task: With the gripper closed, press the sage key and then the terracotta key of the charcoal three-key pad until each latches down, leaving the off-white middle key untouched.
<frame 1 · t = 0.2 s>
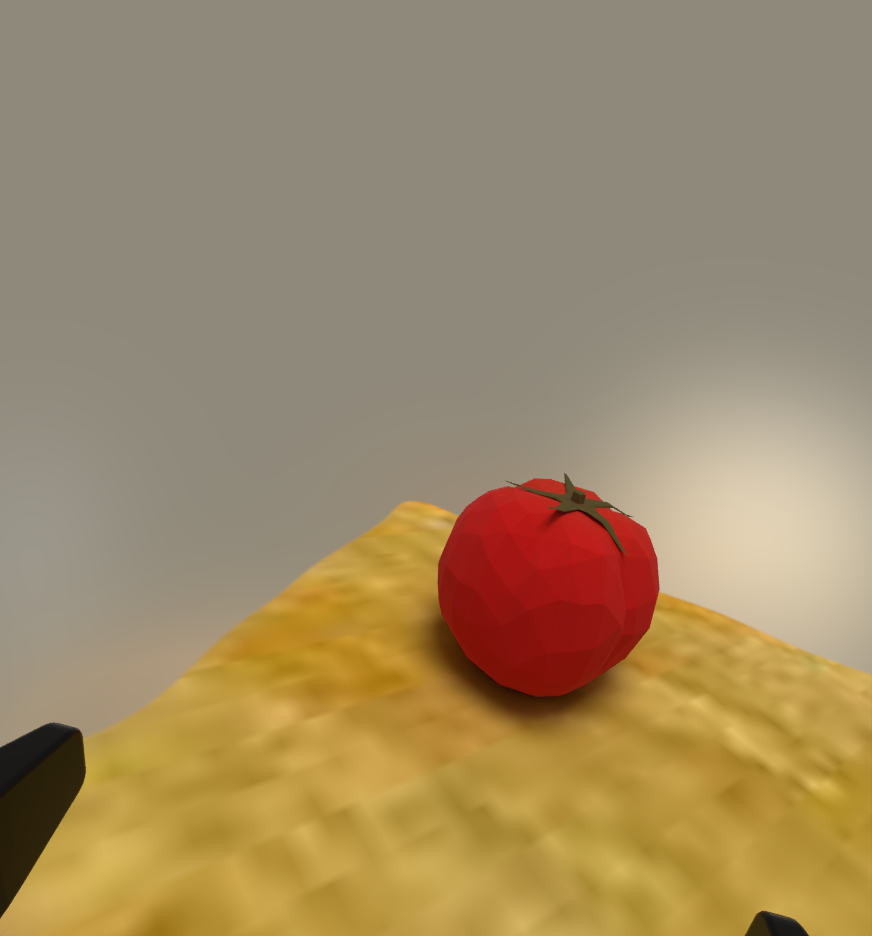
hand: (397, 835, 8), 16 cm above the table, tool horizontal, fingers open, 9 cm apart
tomato: (523, 657, 37), on the table
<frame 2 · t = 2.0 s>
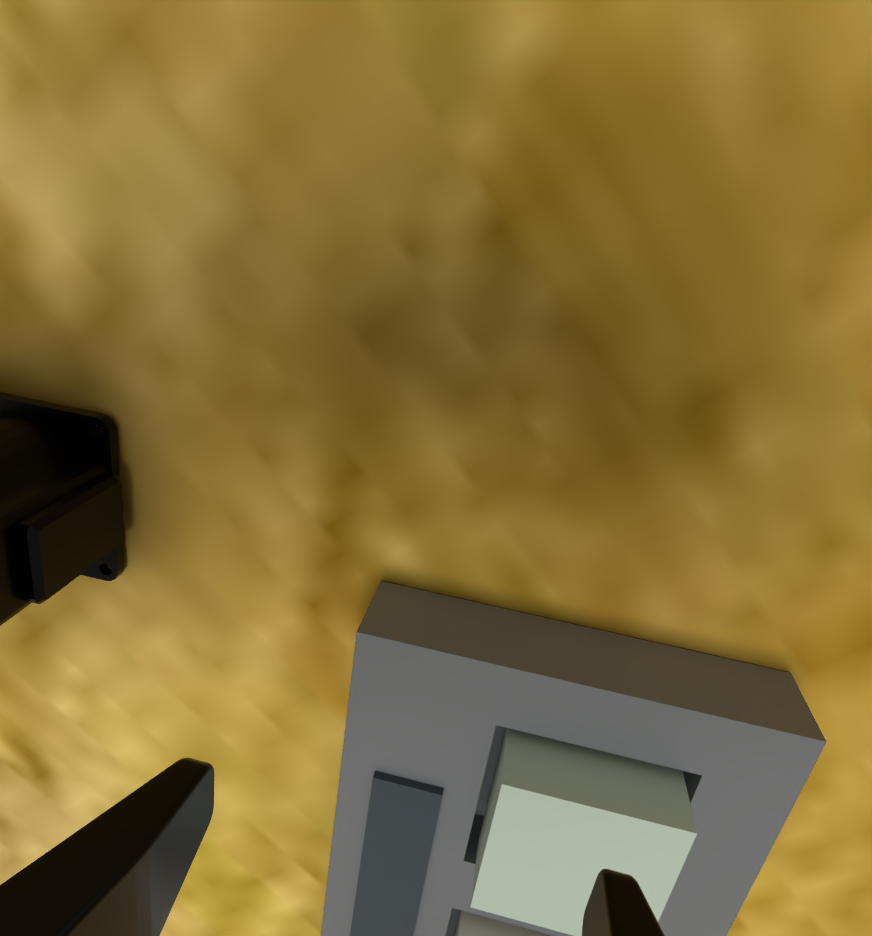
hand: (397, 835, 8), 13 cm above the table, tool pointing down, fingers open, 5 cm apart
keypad: (500, 899, 27), on the table
key sage: (574, 837, 20), point 4 cm above the table, slide at 0.0 cm
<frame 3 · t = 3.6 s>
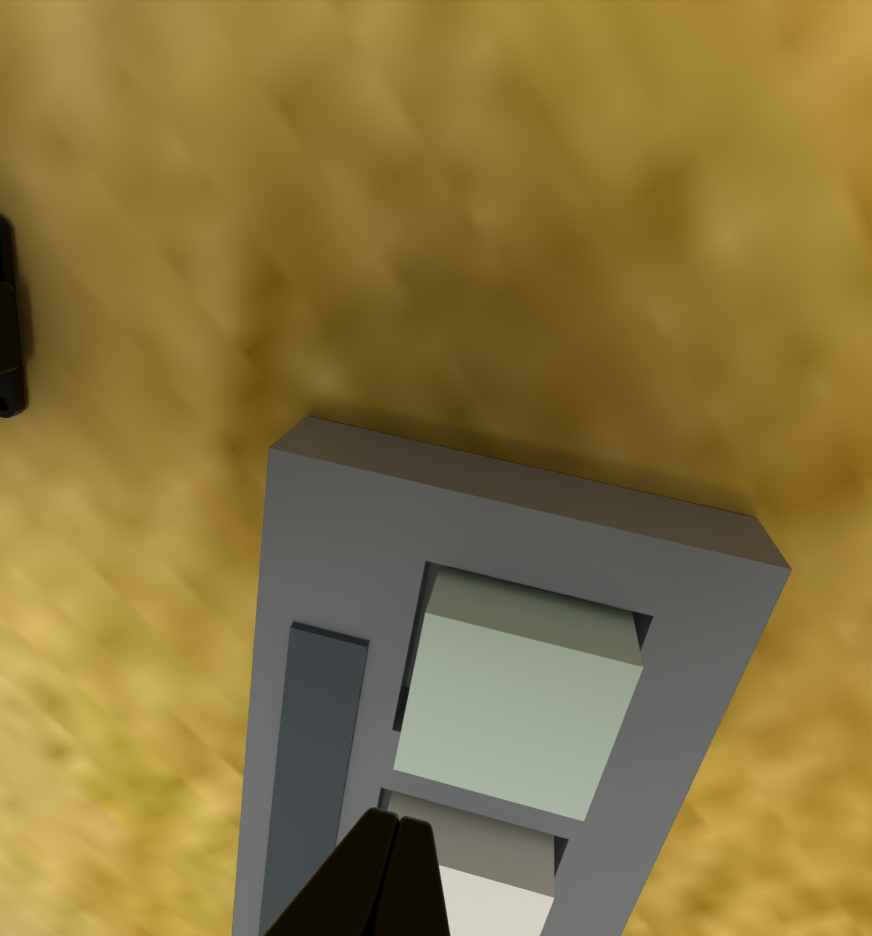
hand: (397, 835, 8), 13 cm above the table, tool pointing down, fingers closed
key offwhite: (453, 892, 22), point 4 cm above the table, slide at 0.0 cm
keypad: (441, 796, 25), on the table
key sage: (511, 691, 18), point 4 cm above the table, slide at 0.0 cm
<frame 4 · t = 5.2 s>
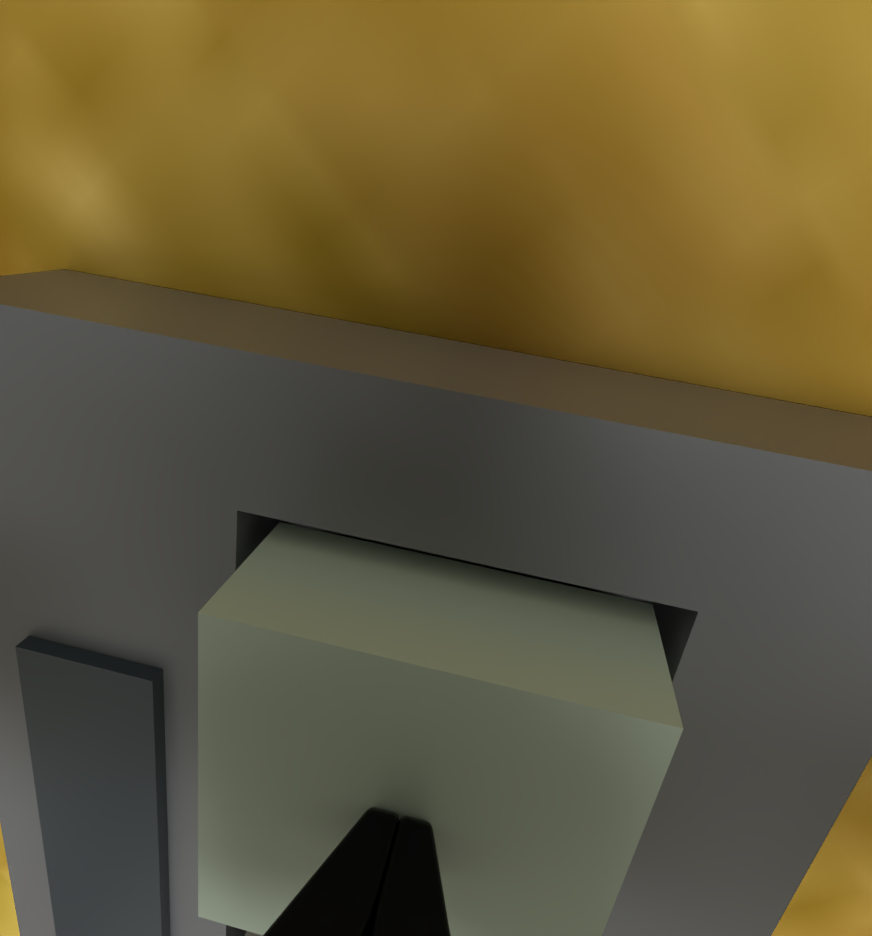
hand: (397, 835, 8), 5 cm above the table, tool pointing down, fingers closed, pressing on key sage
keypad: (361, 900, 16), on the table
key sage: (418, 765, 9), point 4 cm above the table, slide at 0.0 cm, touching gripper
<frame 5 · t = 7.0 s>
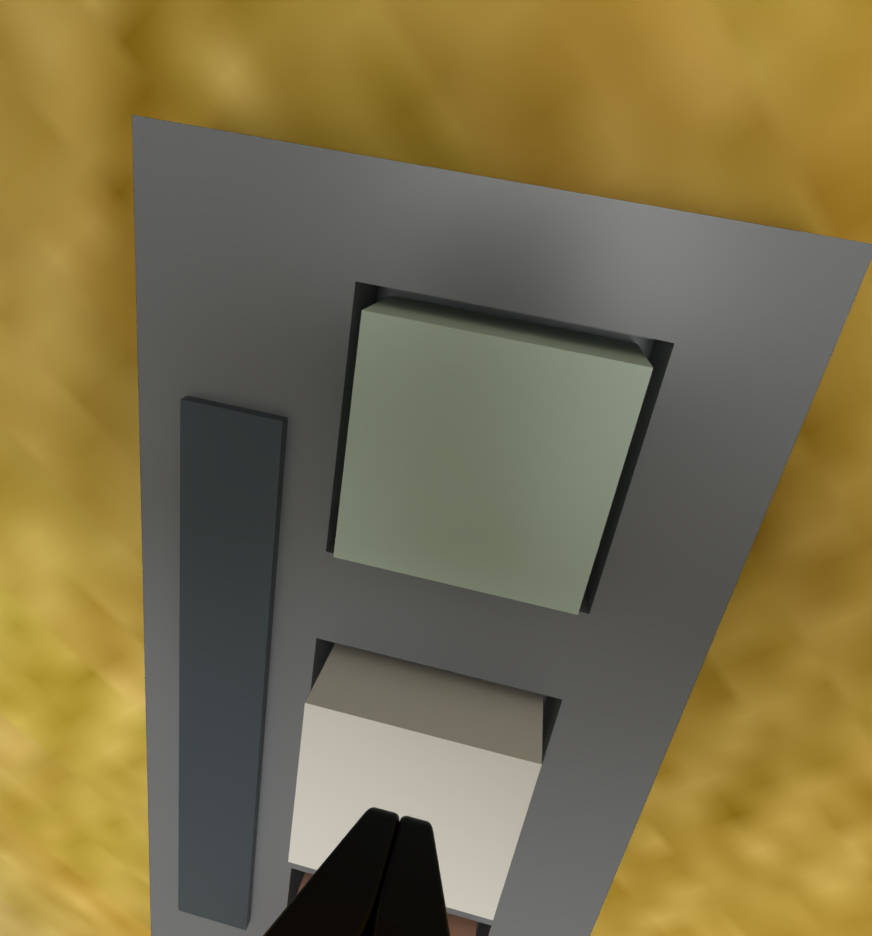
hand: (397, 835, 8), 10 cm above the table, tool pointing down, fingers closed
key offwhite: (413, 777, 17), point 4 cm above the table, slide at 0.0 cm
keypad: (405, 677, 20), on the table
key sage: (482, 452, 14), point 3 cm above the table, slide at 1.0 cm
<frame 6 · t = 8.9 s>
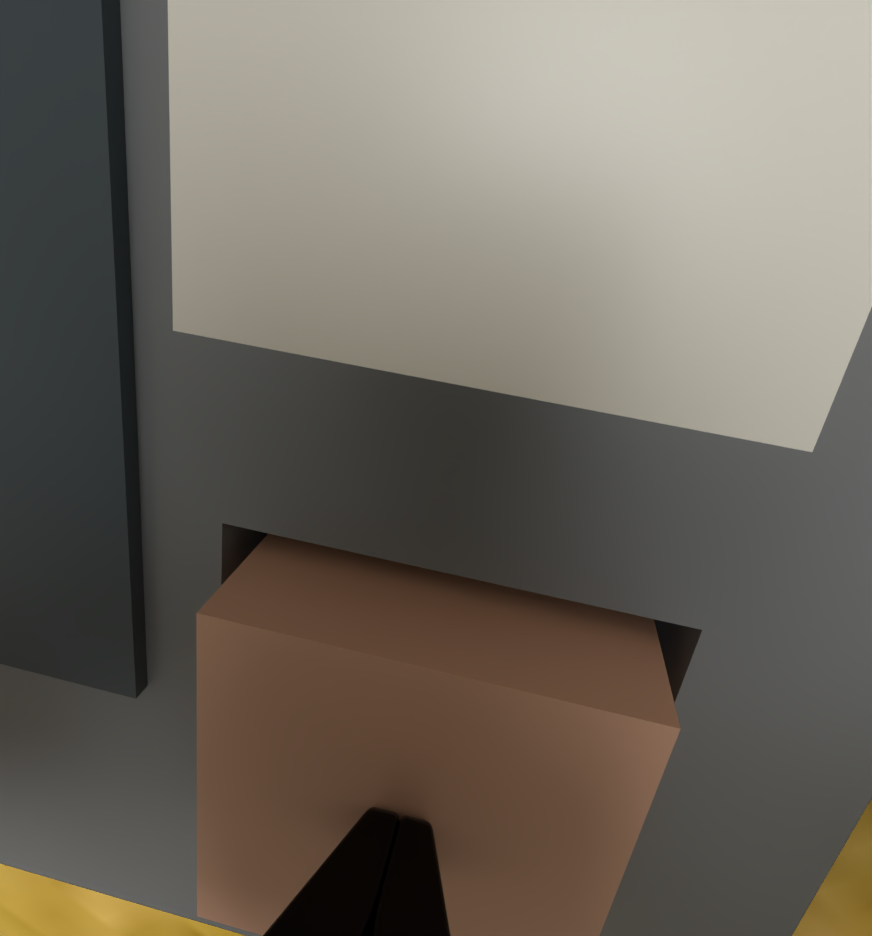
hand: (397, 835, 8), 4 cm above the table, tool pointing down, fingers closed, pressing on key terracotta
key offwhite: (546, 42, 5), point 4 cm above the table, slide at 0.0 cm
key terracotta: (416, 765, 9), point 3 cm above the table, slide at 0.4 cm, touching gripper
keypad: (478, 97, 9), on the table
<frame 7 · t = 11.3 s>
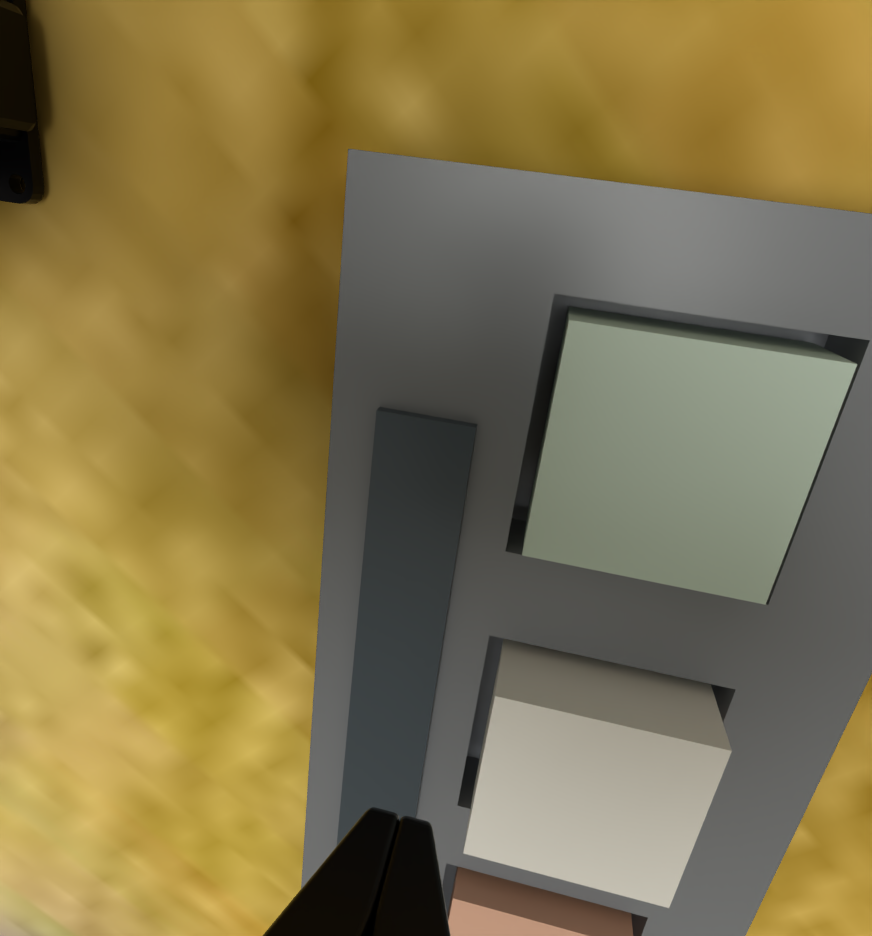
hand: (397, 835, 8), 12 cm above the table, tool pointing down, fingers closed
key offwhite: (584, 769, 17), point 4 cm above the table, slide at 0.0 cm
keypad: (550, 675, 21), on the table
key sage: (664, 451, 15), point 3 cm above the table, slide at 1.0 cm
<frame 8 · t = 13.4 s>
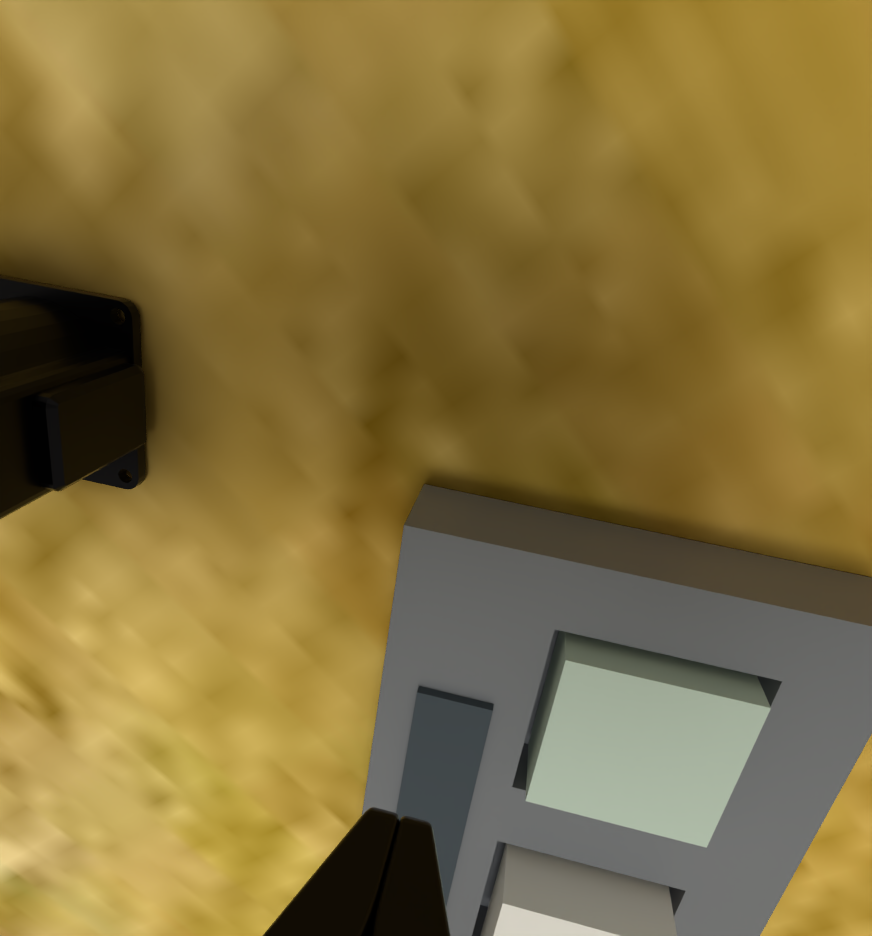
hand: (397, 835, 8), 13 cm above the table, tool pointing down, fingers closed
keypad: (542, 842, 26), on the table
key sage: (634, 727, 20), point 3 cm above the table, slide at 1.0 cm
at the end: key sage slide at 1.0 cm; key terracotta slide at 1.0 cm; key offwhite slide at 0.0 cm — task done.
